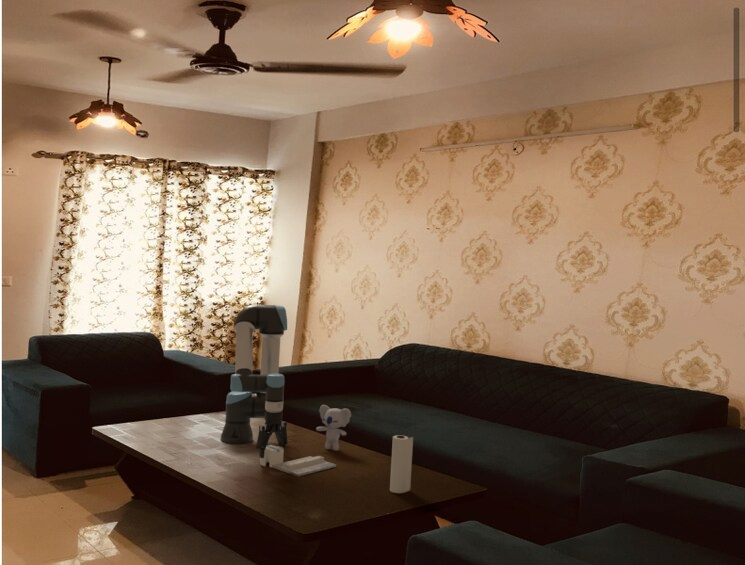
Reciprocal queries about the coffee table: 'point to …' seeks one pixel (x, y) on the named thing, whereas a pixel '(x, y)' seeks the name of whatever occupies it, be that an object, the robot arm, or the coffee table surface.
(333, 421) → the toy
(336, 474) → the coffee table surface
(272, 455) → the block
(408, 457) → the paper towel roll
